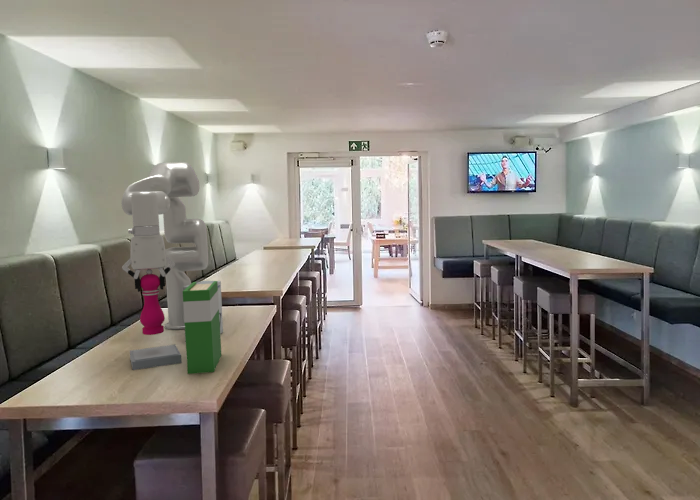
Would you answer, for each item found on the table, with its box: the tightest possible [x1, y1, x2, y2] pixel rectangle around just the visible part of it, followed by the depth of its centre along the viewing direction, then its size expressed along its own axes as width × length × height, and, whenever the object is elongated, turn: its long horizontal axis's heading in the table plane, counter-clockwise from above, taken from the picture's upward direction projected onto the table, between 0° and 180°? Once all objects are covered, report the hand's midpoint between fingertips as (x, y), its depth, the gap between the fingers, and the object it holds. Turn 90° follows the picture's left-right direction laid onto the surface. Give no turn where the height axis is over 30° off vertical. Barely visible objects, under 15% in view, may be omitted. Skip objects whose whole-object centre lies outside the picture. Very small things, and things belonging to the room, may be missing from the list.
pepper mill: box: [139, 269, 166, 336], centre depth 169 cm, size 7×7×20 cm
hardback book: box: [183, 280, 222, 375], centre depth 165 cm, size 18×7×24 cm, turn 6°
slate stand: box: [129, 344, 183, 371], centre depth 171 cm, size 14×14×3 cm
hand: (150, 289), depth 169 cm, fingers closed on pepper mill, 6 cm apart
